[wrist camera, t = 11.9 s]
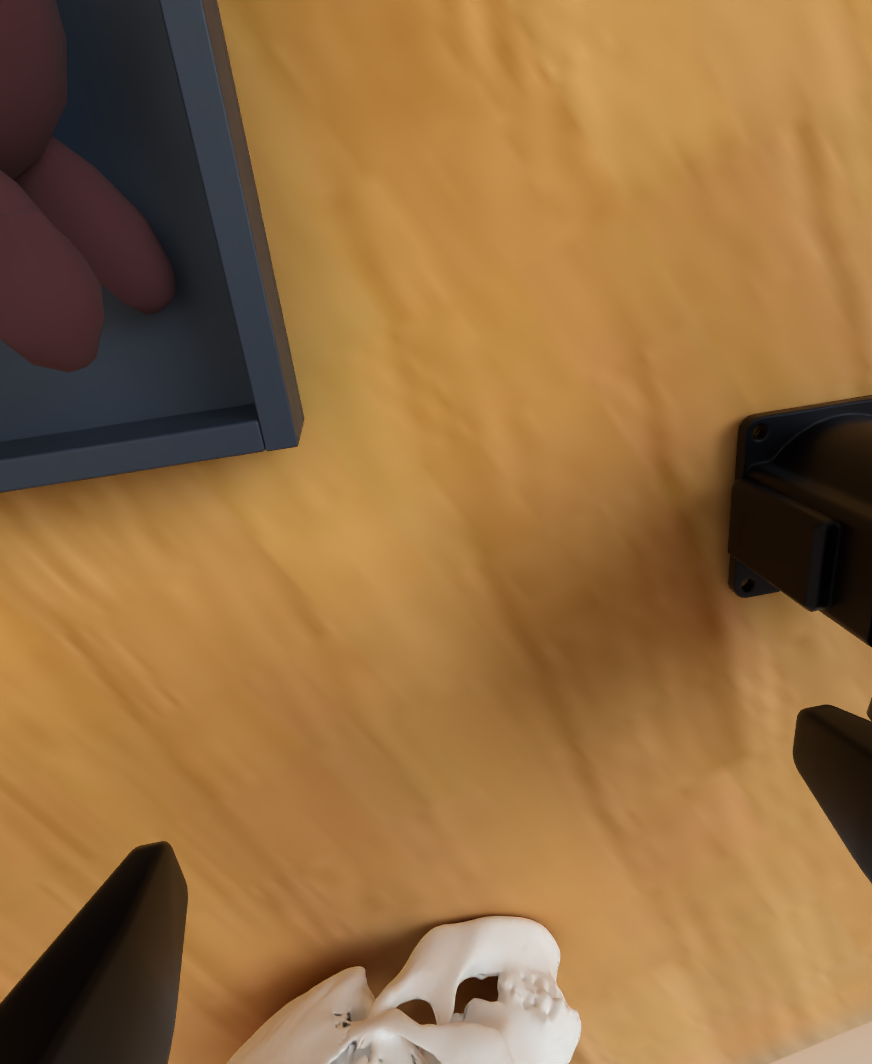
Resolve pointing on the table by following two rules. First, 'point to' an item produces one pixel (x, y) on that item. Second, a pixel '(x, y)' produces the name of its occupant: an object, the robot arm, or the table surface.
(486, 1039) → the skull bowl
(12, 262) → the icecream
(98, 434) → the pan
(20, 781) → the table surface
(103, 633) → the table surface
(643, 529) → the table surface
